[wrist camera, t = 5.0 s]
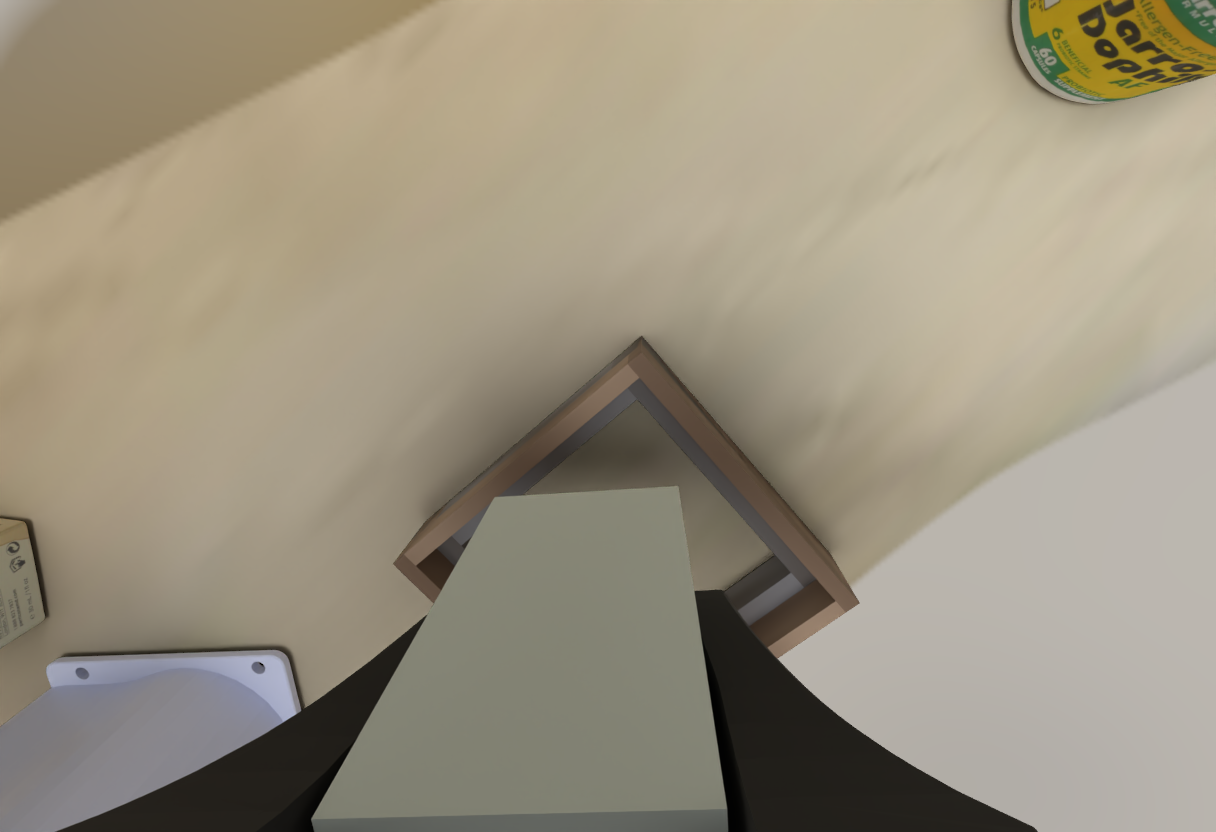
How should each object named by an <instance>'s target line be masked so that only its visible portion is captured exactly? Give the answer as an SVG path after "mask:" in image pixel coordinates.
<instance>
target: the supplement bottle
mask: <svg viewBox="0 0 1216 832" xmlns="http://www.w3.org/2000/svg"><path fill="white" fill-rule="evenodd" d="M1012 27H1013V34H1014V38H1015V42H1016V46H1017V49H1018V52H1019V54H1020V57H1021V59H1022V61H1023V63H1024V64H1025V66H1026V68H1027V70H1028V71H1029V73H1030V74H1031V76H1032V77H1033V78H1034V79H1035V80H1036V82H1037V83H1038V84H1039V85H1041V86H1042V87H1043V88H1045V89H1046V90H1048V91H1050V92H1051V93H1053V94H1055V95H1057V96H1059V97H1061V98H1064V99H1067V100H1070V101H1075V102H1081V103H1088V104H1102V103H1111V102H1117V101H1121V100H1125V99H1129V98H1134V97H1138V96H1141V95H1144V94H1148V93H1152V92H1156V91H1159V90H1162V89H1166V88H1169V87H1172V86H1176V85H1180V84H1183V83H1186V82H1191V81H1194V80H1197V79H1200V78H1204V77H1207V76H1210V75H1213V74H1216V0H1012Z"/></svg>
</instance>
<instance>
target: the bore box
mask: <svg viewBox="0 0 1216 832" xmlns="http://www.w3.org/2000/svg"><path fill="white" fill-rule="evenodd" d="M636 400H638V401H639V402H640V403H641V404H642V405H643V406H644V407H645V409H646V410H647V411H648V412H649V413H650V414H651V415H652V416H653V418H654V419H655V420H656V421H657V422H658V423H659V424H660V425H661V427H662V428H663V429H664V430H665V431H666V432H667V433H668V434H669V436H670V437H671V438H672V439H673V440H674V441H675V442H676V444H677V445H678V446H679V447H680V448H681V449H682V450H683V451H684V453H685V454H686V455H687V456H688V457H689V458H690V459H691V460H692V462H693V463H694V464H695V465H696V466H697V467H698V468H699V469H700V471H701V472H702V473H703V474H704V475H705V476H706V477H707V478H708V480H709V481H710V482H711V483H712V484H713V485H714V486H715V488H716V489H717V490H718V491H719V492H720V493H721V494H722V495H723V497H724V498H725V499H726V500H727V501H728V502H729V503H730V504H731V506H732V507H733V508H734V509H735V510H736V511H737V512H738V513H739V515H740V516H741V517H742V518H743V519H744V520H745V521H746V522H747V524H748V525H749V526H750V527H751V528H752V529H753V530H754V532H755V533H756V534H757V535H758V536H759V537H760V538H761V539H762V541H763V542H764V543H765V544H766V545H767V546H768V547H769V548H770V550H771V551H772V552H773V553H774V554H775V556H774V557H772V558H771V559H769V560H768V561H767V562H765V563H764V564H762V565H761V566H760V567H758V568H757V569H755V570H754V571H753V572H751V573H750V574H748V575H747V576H746V577H744V578H743V579H741V580H740V581H739V582H737V583H736V584H735V585H733V586H732V587H730V588H729V589H728V590H726V591H725V592H724V593H725V594H726V595H727V596H728V597H729V599H730V601H731V602H732V604H733V605H734V607H735V608H736V609H737V611H738V612H739V613H740V615H741V616H742V618H743V619H744V620H745V621H746V623H747V624H748V625H749V627H750V628H751V629H752V630H753V632H754V633H755V634H756V635H757V636H758V638H759V639H760V640H761V641H762V642H763V643H764V644H765V646H766V647H767V648H768V649H769V650H770V651H771V652H772V653H773V655H774V656H775V657H776V658H779V657H780V656H782V655H783V654H785V653H786V652H788V651H789V650H791V649H792V648H794V647H795V646H797V645H798V644H800V643H801V642H803V641H804V640H806V639H807V638H808V637H810V636H812V635H813V634H815V633H816V632H818V631H819V630H820V629H822V628H823V627H825V626H826V625H828V624H829V623H831V622H832V621H834V620H835V619H837V618H838V617H840V616H841V615H843V614H844V613H846V612H847V611H849V610H850V609H852V608H853V607H855V606H856V605H858V604H859V601H858V600H857V598H856V596H855V595H854V593H853V591H852V589H851V588H850V586H849V584H848V583H847V581H846V579H845V578H844V576H843V574H842V572H841V571H840V569H839V567H838V566H837V564H836V562H835V561H834V559H833V557H832V556H831V554H830V553H829V552H828V551H827V550H826V548H825V547H824V546H823V545H822V544H821V543H820V542H819V540H818V539H817V538H816V537H815V536H814V535H813V533H812V532H811V531H810V530H809V529H808V528H807V526H806V525H805V524H804V523H803V522H802V521H801V520H800V518H799V517H798V516H797V515H796V514H795V513H794V511H793V510H792V509H791V508H790V507H789V506H788V505H787V503H786V502H785V501H784V500H783V499H782V498H781V496H780V495H779V494H778V493H777V492H776V491H775V490H774V488H773V487H772V486H771V485H770V484H769V483H768V481H767V480H766V479H765V478H764V477H763V476H762V474H761V473H760V472H759V471H758V470H757V469H756V468H755V466H754V465H753V464H752V463H751V462H750V461H749V459H748V458H747V457H746V456H745V455H744V454H743V453H742V451H741V450H740V449H739V448H738V447H737V446H736V444H735V443H734V442H733V441H732V440H731V439H730V437H729V436H728V435H727V434H726V433H725V432H724V431H723V429H722V428H721V427H720V426H719V425H718V424H717V422H716V421H715V420H714V419H713V418H712V417H711V416H710V414H709V413H708V412H707V411H706V410H705V409H704V407H703V406H702V405H701V404H700V403H699V402H698V400H697V399H696V398H695V397H694V396H693V395H692V394H691V392H690V391H689V390H688V389H687V388H686V387H685V385H684V384H683V383H682V382H681V381H680V380H679V379H678V377H677V376H676V375H675V374H674V373H673V372H672V370H671V369H670V368H669V367H668V366H667V365H666V363H665V362H664V361H663V360H662V359H661V358H660V357H659V355H658V354H657V353H656V352H655V351H654V350H653V348H652V347H651V346H650V345H649V344H648V343H647V342H646V340H645V339H644V338H643V337H642V336H641V337H640V338H639V339H637V340H636V341H635V342H634V343H633V344H632V345H631V346H629V347H628V348H627V349H626V350H625V351H624V352H622V353H621V354H620V355H619V356H618V357H617V358H615V359H614V360H613V361H612V362H611V363H610V364H608V365H607V366H606V367H605V368H604V369H603V370H601V371H600V372H599V373H598V374H597V375H596V376H594V377H593V378H592V379H591V380H590V381H589V382H587V383H586V384H585V385H584V386H583V387H582V388H580V389H579V390H578V391H577V392H576V393H575V394H573V395H572V396H571V397H570V398H569V399H568V400H566V401H565V402H564V403H563V404H562V405H561V406H559V407H558V408H557V409H556V410H555V411H554V412H553V413H551V414H550V415H549V416H548V417H547V418H546V419H544V420H543V421H542V422H541V423H540V424H539V425H537V426H536V427H535V428H534V429H533V430H532V431H530V432H529V433H528V434H527V435H526V436H525V437H523V438H522V439H521V440H520V441H519V442H518V443H516V444H515V445H514V446H513V447H512V448H511V449H509V450H508V451H507V452H506V453H505V454H504V455H502V456H501V457H500V458H499V459H498V460H497V461H495V462H494V463H493V464H492V465H491V466H490V467H488V468H487V469H486V470H485V471H484V472H483V473H481V474H480V475H479V476H478V477H477V478H476V479H474V480H473V481H472V482H471V483H470V484H469V485H468V486H466V487H465V488H464V489H463V490H462V491H461V492H459V493H458V494H457V495H456V496H455V497H454V498H452V499H451V500H450V501H449V502H448V503H447V504H445V505H444V506H443V507H442V508H441V509H440V510H438V511H437V512H436V513H435V514H434V515H433V516H431V517H430V518H429V519H428V520H427V521H426V522H425V523H424V524H423V525H422V527H421V528H420V529H419V531H418V532H417V533H416V535H415V536H414V537H413V538H412V540H411V541H410V542H409V544H408V545H407V546H406V548H405V549H404V550H403V551H402V553H401V554H400V555H399V557H398V558H397V559H396V561H395V562H394V563H393V564H394V565H395V566H396V567H397V568H398V569H399V570H400V571H401V572H402V573H403V574H404V575H405V576H406V577H407V578H408V579H409V580H410V581H411V582H412V583H413V584H414V585H415V586H416V587H417V588H418V589H419V590H420V591H422V592H423V593H424V594H425V595H426V596H427V597H428V598H429V599H430V600H431V601H432V602H433V603H435V601H436V599H437V597H438V596H439V594H440V592H441V590H442V589H443V587H444V585H445V583H446V582H447V580H448V578H449V576H450V574H451V573H452V571H453V569H454V567H455V566H456V564H457V562H458V560H459V559H460V557H461V555H462V553H463V552H464V550H465V548H466V546H467V545H468V543H469V541H470V539H471V538H472V536H473V534H474V532H475V531H476V529H477V527H478V525H479V524H480V522H481V520H482V518H483V517H484V515H485V513H486V511H487V509H488V508H489V506H490V504H491V502H492V501H493V499H494V497H505V496H521V495H523V494H524V493H525V492H526V491H527V490H529V489H530V488H531V487H532V486H534V485H535V484H536V483H537V482H538V481H540V480H541V479H542V478H543V477H544V476H546V475H547V474H548V473H549V472H550V471H552V470H553V469H554V468H555V467H556V466H558V465H559V464H560V463H561V462H562V461H564V460H565V459H566V458H567V457H568V456H570V455H571V454H572V453H573V452H574V451H576V450H577V449H578V448H579V447H580V446H582V445H583V444H584V443H585V442H586V441H588V440H589V439H590V438H591V437H592V436H594V435H595V434H596V433H597V432H598V431H600V430H601V429H602V428H603V427H604V426H606V425H607V424H608V423H609V422H610V421H612V420H613V419H614V418H615V417H616V416H618V415H619V414H620V413H621V412H622V411H624V410H625V409H626V408H627V407H628V406H630V405H631V404H632V403H633V402H634V401H636Z"/></svg>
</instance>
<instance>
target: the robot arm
mask: <svg viewBox="0 0 1216 832" xmlns="http://www.w3.org/2000/svg"><path fill="white" fill-rule="evenodd" d="M694 593H695V599H696V606H697V612H698V619H699V626H700V632H701V639H702V646H703V652H704V659H705V666H706V672H707V679H708V685H709V692H710V699H711V705H712V712H713V719H714V725H715V732H716V738H717V745H718V752H719V758H720V765H721V772H722V778H723V785H724V792H725V798H726V805H727V817H728V832H1037V830H1036V829H1035V828H1034V827H1032V826H1030V825H1027V824H1026V823H1023V822H1021V821H1019V820H1017V819H1015V818H1013V817H1011V816H1008V815H1007V814H1004V813H1002V812H1000V811H998V810H996V809H994V808H991V807H990V806H988V805H986V804H984V803H981V802H979V801H977V800H975V799H973V798H971V797H969V796H967V795H965V794H962V793H961V792H958V791H956V790H955V789H953V788H951V787H949V786H947V785H946V784H944V783H942V782H940V781H938V780H937V779H935V778H933V777H931V776H930V775H928V774H926V773H924V772H923V771H921V770H919V769H917V768H915V767H914V766H912V765H911V764H909V763H907V762H905V761H904V760H902V759H901V758H899V757H897V756H896V755H894V754H893V753H891V752H889V751H888V750H886V749H885V748H884V747H882V746H881V745H879V744H878V743H876V742H875V741H873V740H872V739H870V738H869V737H867V736H866V735H864V734H863V733H862V732H860V731H859V730H857V729H856V728H854V727H853V726H852V725H850V724H849V723H848V722H846V721H845V720H844V719H842V718H841V717H840V716H838V715H837V714H836V713H835V712H833V711H832V710H831V709H830V708H829V707H827V706H826V705H825V704H824V703H822V702H821V701H820V700H819V699H818V698H817V697H816V696H815V695H813V694H812V693H811V692H810V691H809V690H808V689H807V688H806V687H805V686H804V685H803V684H802V683H801V682H800V681H799V680H798V679H797V678H795V676H793V674H792V673H791V672H789V671H788V669H787V668H785V666H784V665H783V664H782V663H781V662H780V661H779V660H778V659H777V658H776V657H775V656H774V655H773V653H772V652H771V651H770V650H769V649H768V648H767V647H766V646H765V644H764V643H763V642H762V641H761V640H760V639H759V638H758V636H757V635H756V634H755V633H754V632H753V630H752V629H751V628H750V627H749V625H748V624H747V623H746V621H745V620H744V619H743V618H742V616H741V615H740V613H739V612H738V611H737V609H736V608H735V607H734V605H733V604H732V602H731V601H730V599H729V597H728V596H727V595H726V594H725V593H724V592H723V591H722V590H706V591H694ZM426 617H427V615H426V616H425V617H424V618H423V619H421V620H420V621H419V622H418V623H416V624H415V625H414V626H413V627H412V628H410V629H409V630H408V631H407V632H405V633H404V634H403V635H402V636H401V637H399V638H398V639H397V640H396V641H394V642H393V643H392V644H391V645H389V646H388V647H387V648H386V649H385V650H383V651H382V652H381V653H380V654H378V655H377V656H376V657H375V658H373V659H372V660H371V661H370V662H368V663H367V664H366V665H364V666H363V667H362V668H360V669H359V670H358V671H356V672H355V673H354V674H352V675H351V676H350V677H348V678H347V679H346V680H344V681H343V682H341V683H340V684H339V685H337V686H336V687H335V688H333V689H332V690H331V691H329V692H328V693H327V694H325V695H324V696H322V697H321V698H320V699H318V700H317V701H315V702H314V703H312V704H311V705H309V706H308V707H306V708H305V709H303V710H302V711H301V707H300V703H299V699H298V695H297V691H296V687H295V683H294V679H293V675H292V671H291V666H290V662H289V660H288V657H287V656H286V655H285V654H284V653H283V652H280V651H278V650H257V651H228V652H199V653H170V654H141V655H112V656H83V657H61V658H57V659H56V660H54V661H53V662H52V663H50V664H49V665H48V666H47V668H46V673H47V677H48V680H49V682H50V685H51V688H50V689H49V690H48V691H46V692H45V693H44V694H42V695H41V696H40V697H38V698H37V699H36V700H34V701H33V702H32V703H31V704H29V705H28V706H27V707H25V708H24V709H23V710H21V711H20V712H19V713H17V714H16V715H15V716H13V717H12V718H11V719H9V720H8V721H7V722H6V723H4V724H3V725H2V726H0V832H314V828H313V825H312V821H311V819H312V817H313V815H314V813H315V812H316V810H317V808H318V806H319V805H320V803H321V801H322V799H323V798H324V796H325V794H326V792H327V791H328V789H329V787H330V785H331V783H332V782H333V780H334V778H335V776H336V775H337V773H338V771H339V769H340V768H341V766H342V764H343V762H344V761H345V759H346V757H347V755H348V754H349V752H350V750H351V748H352V747H353V745H354V743H355V741H356V740H357V738H358V736H359V734H360V733H361V731H362V729H363V727H364V726H365V724H366V722H367V720H368V719H369V717H370V715H371V713H372V711H373V710H374V708H375V706H376V704H377V703H378V701H379V699H380V697H381V696H382V694H383V692H384V690H385V689H386V687H387V685H388V683H389V682H390V680H391V678H392V676H393V675H394V673H395V671H396V669H397V668H398V666H399V664H400V662H401V661H402V659H403V657H404V655H405V654H406V652H407V650H408V648H409V646H410V645H411V643H412V641H413V639H414V638H415V636H416V634H417V632H418V631H419V629H420V627H421V625H422V624H423V622H424V620H425V618H426ZM258 662H261V663H262V664H264V666H265V667H263V666H261V665H260V664H259V663H258Z"/></svg>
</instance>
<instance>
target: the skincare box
mask: <svg viewBox="0 0 1216 832" xmlns="http://www.w3.org/2000/svg"><path fill="white" fill-rule="evenodd" d="M44 619H45V614H44V610H43V605H42V599H41V594H40V588H39V583H38V577H37V572H36V567H35V562H34V557H33V553H32V547H31V543H30V539H29V535H28V529H27V525H26V523H25V522H22V521H17V520H10V519H2V518H0V648H2V647H3V646H5V645H6V644H8V643H10V642H11V641H13V640H14V639H16V638H18V637H19V636H21V635H22V634H24V633H25V632H27V631H28V630H30V629H31V628H33V627H35V626H36V625H38V624H39V623H41V622H42V621H43V620H44Z"/></svg>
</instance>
